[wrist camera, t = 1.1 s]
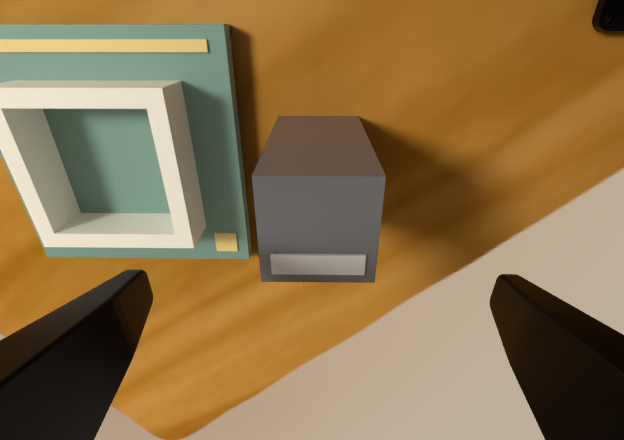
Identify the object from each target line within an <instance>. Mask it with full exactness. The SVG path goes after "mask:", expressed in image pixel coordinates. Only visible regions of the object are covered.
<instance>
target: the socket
mask: <svg viewBox="0 0 624 440" xmlns="http://www.w3.org/2000/svg"><path fill="white" fill-rule="evenodd" d="M43 109H147V113H148V117H149V122H150V126H151V130H152V135H153V139H154V144H155V148H156V152H157V157H158V161H159V166H160V170H161V174H162V179H163V183H164V188H165V192H166V196H167V201H168V205H169V210H170V213H81V211H80V209H79V206H78V203H77V201H76V198H75V195H74V192H73V190H72V187H71V184H70V182H69V179H68V176H67V173H66V171H65V168H64V165H63V163H62V160H61V157H60V155H59V152H58V149H57V146H56V144H55V141H54V138H53V136H52V133H51V130H50V127H49V125H48V122H47V119H46V117H45V114H44V111H43ZM0 150H1V152H2V154H3V157H4V159H5V161H6V163H7V166H8V168H9V170H10V172H11V174H12V177H13V179H14V181H15V183H16V185H17V188H18V190H19V192H20V194H21V196H22V199H23V201H24V203H25V205H26V207H27V210H28V212H29V214H30V216H31V219H32V221H33V223H34V225H35V227H36V230H37V232H38V234H39V236H40V238H41V241H42V243H43V245H44V247H96V248H195V246H196V244H197V242H198V240H199V239H200V237H201V235H202V233H203V231H204V230H205V228H206V221H205V215H204V209H203V204H202V198H201V192H200V186H199V180H198V175H197V169H196V163H195V157H194V151H193V146H192V140H191V134H190V128H189V123H188V117H187V111H186V105H185V99H184V94H183V88H182V82H181V81H166V80H14V81H8V82H2V83H0Z"/></svg>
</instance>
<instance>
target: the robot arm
mask: <svg viewBox="0 0 624 440" xmlns="http://www.w3.org/2000/svg"><path fill="white" fill-rule="evenodd" d="M609 12H611V18H610V20H609V21H608V22H607V23H606V22H605V17H606V15H607V14H608V13H609ZM592 24H593V27H594V28H595V29H596V30H599V31H624V0H599V1H598V4H597V7H596V10H595V13H594V16H593V20H592ZM152 302H153V293H152V290H151V286H150V283H149V279H148V276H147V273H146V272H145V271H144V270H133V269H130V270H126V271H124V272H122V273H120V274H119V275H117V276H115V277H113V278H111V279H110V280H108V281H106V282H104V283H103V284H101V285H99V286H97V287H95V288H94V289H92V290H90V291H88V292H86V293H85V294H83V295H81V296H79V297H77V298H76V299H74V300H72V301H70V302H68V303H67V304H65V305H63V306H61V307H60V308H58V309H56V310H54V311H52V312H51V313H49V314H47V315H45V316H43V317H42V318H40V319H38V320H36V321H34V322H33V323H31V324H29V325H27V326H25V327H24V328H22V329H20V330H18V331H16V332H15V333H13V334H11V335H9V336H8V337H6V338H4V339H2V340H0V440H94V438H95V436H96V434H97V432H98V430H99V428H100V426H101V424H102V422H103V420H104V418H105V415H106V413H107V411H108V409H109V407H110V405H111V403H112V401H113V399H114V397H115V395H116V392H117V390H118V388H119V386H120V384H121V382H122V380H123V378H124V376H125V374H126V371H127V369H128V367H129V365H130V363H131V361H132V358H133V356H134V353H135V351H136V348H137V345H138V343H139V340H140V337H141V334H142V331H143V328H144V325H145V323H146V320H147V317H148V314H149V311H150V308H151V306H152ZM490 308H491V311H492V314H493V317H494V320H495V323H496V326H497V329H498V331H499V334H500V337H501V340H502V343H503V346H504V349H505V352H506V355H507V357H508V360H509V363H510V365H511V367H512V370H513V372H514V374H515V376H516V378H517V380H518V383H519V385H520V387H521V389H522V391H523V393H524V395H525V397H526V400H527V402H528V404H529V406H530V408H531V410H532V412H533V414H534V417H535V418H536V421H537V423H538V425H539V427H540V429H541V432H542V434H543V436H544V438H545V440H624V335H622V334H621V333H619V332H617V331H615V330H614V329H612V328H610V327H609V326H607V325H605V324H603V323H602V322H600V321H598V320H596V319H594V318H593V317H591V316H589V315H587V314H586V313H584V312H582V311H580V310H578V309H577V308H575V307H573V306H571V305H570V304H568V303H566V302H564V301H563V300H561V299H559V298H557V297H556V296H554V295H552V294H550V293H549V292H547V291H545V290H543V289H542V288H540V287H538V286H536V285H535V284H533V283H531V282H529V281H528V280H526V279H524V278H522V277H520V276H519V275H513V274H502V275H499V276H498V278H497V280H496V283H495V286H494V289H493V292H492V295H491V298H490Z"/></svg>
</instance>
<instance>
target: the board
mask: <svg viewBox="0 0 624 440" xmlns="http://www.w3.org/2000/svg"><path fill="white" fill-rule="evenodd" d="M14 80H166V81H181V82H182V88H183V94H184V99H185V105H186V111H187V117H188V123H189V128H190V134H191V140H192V146H193V151H194V157H195V163H196V169H197V175H198V180H199V186H200V192H201V198H202V204H203V209H204V215H205V221H206V228H205V230H204V231H203V233H202V235H201V237H200V239H199V240H198V242H197V244H196V246H195V248H96V247H44V245H43V243H42V241H41V238H40V236H39V234H38V232H37V230H36V227H35V225H34V223H33V221H32V219H31V216H30V214H29V212H28V210H27V207H26V205H25V203H24V201H23V199H22V196H21V194H20V192H19V190H18V188H17V185H16V183H15V181H14V179H13V177H12V174H11V172H10V170H9V168H8V166H7V163H6V161H5V159H4V157H3V154H2V152H1V150H0V154H1V156H2V159H3V161H4V163H5V165H6V167H7V170H8V172H9V174H10V176H11V178H12V181H13V183H14V185H15V187H16V189H17V191H18V194H19V196H20V198H21V200H22V202H23V205H24V207H25V209H26V211H27V213H28V216H29V218H30V220H31V222H32V224H33V227H34V229H35V231H36V233H37V235H38V238H39V240H40V242H41V244H42V246H43V249H44V251H45V253H46V255H47V257H86V258H206V259H249V258H250V255H251V251H252V243H251V234H250V224H249V214H248V204H247V195H246V185H245V175H244V165H243V155H242V146H241V136H240V126H239V116H238V107H237V97H236V87H235V77H234V68H233V58H232V48H231V38H230V28H229V25H227V24H116V25H0V83H2V82H8V81H14ZM43 111H44V114H45V117H46V119H47V122H48V125H49V127H50V130H51V133H52V136H53V138H54V141H55V144H56V146H57V149H58V152H59V155H60V157H61V160H62V163H63V165H64V168H65V171H66V173H67V176H68V179H69V182H70V184H71V187H72V190H73V192H74V195H75V198H76V201H77V203H78V206H79V209H80V211H81V213H170V210H169V205H168V201H167V196H166V192H165V188H164V183H163V179H162V174H161V170H160V166H159V161H158V157H157V152H156V148H155V144H154V139H153V135H152V130H151V126H150V122H149V117H148V113H147V109H43Z"/></svg>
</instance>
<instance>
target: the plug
mask: <svg viewBox="0 0 624 440" xmlns="http://www.w3.org/2000/svg"><path fill="white" fill-rule="evenodd" d="M385 182H386V175H385V173H384V171H383V169H382V166H381V164H380V162H379V160H378V158H377V156H376V153H375V151H374V149H373V147H372V145H371V143H370V140H369V138H368V136H367V134H366V132H365V130H364V127H363V125H362V123H361V121H360V119H359V117H358V116H278V118H277V121H276V123H275V125H274V127H273V130H272V132H271V134H270V136H269V139H268V141H267V143H266V145H265V148H264V150H263V152H262V154H261V156H260V159H259V161H258V163H257V165H256V168H255V170H254V172H253V174H252V184H253V195H254V206H255V217H256V228H257V239H258V250H259V260H260V271H261V282H372V283H374V282H375V273H376V264H377V255H378V246H379V237H380V228H381V219H382V210H383V201H384V192H385Z"/></svg>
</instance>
